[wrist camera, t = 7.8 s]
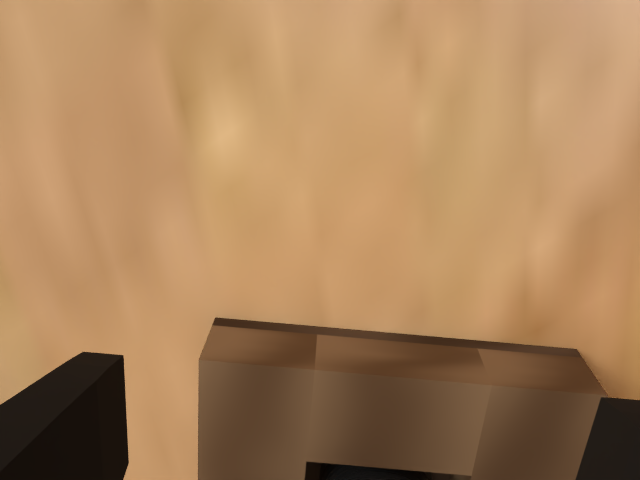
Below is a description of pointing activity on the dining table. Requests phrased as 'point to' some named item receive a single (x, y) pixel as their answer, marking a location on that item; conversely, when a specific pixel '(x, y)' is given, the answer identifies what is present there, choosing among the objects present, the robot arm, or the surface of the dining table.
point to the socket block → (388, 404)
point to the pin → (368, 473)
